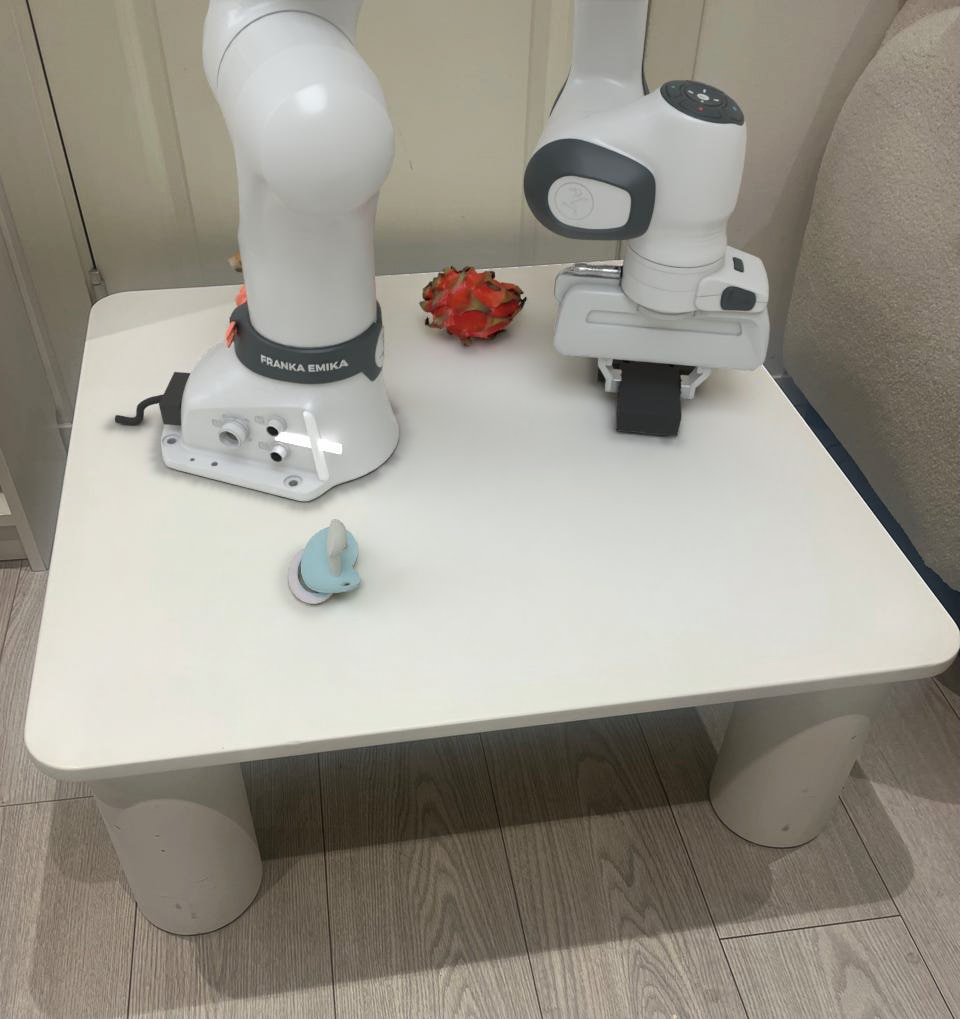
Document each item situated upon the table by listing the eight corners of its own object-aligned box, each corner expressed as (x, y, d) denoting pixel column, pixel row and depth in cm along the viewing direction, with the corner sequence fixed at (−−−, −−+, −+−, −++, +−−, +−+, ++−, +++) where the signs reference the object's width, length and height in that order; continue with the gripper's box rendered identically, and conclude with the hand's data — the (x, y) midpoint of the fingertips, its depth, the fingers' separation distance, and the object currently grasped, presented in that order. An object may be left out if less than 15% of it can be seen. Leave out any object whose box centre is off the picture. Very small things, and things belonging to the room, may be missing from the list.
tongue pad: (677, 436, 99) (681, 416, 98) (616, 430, 100) (619, 410, 98) (673, 366, 108) (677, 346, 106) (617, 361, 108) (620, 341, 106)
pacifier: (289, 615, 82) (363, 606, 83) (278, 563, 78) (356, 554, 79) (288, 550, 88) (358, 542, 88) (278, 498, 83) (351, 490, 84)
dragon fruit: (410, 344, 112) (513, 348, 115) (425, 342, 104) (536, 346, 107) (412, 266, 111) (516, 272, 114) (428, 257, 103) (540, 264, 106)
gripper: (555, 280, 90) (543, 402, 100) (787, 298, 89) (752, 420, 99) (558, 244, 95) (547, 364, 104) (779, 261, 94) (747, 381, 103)
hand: (649, 392), depth 102 cm, fingers closed on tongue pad, 6 cm apart
